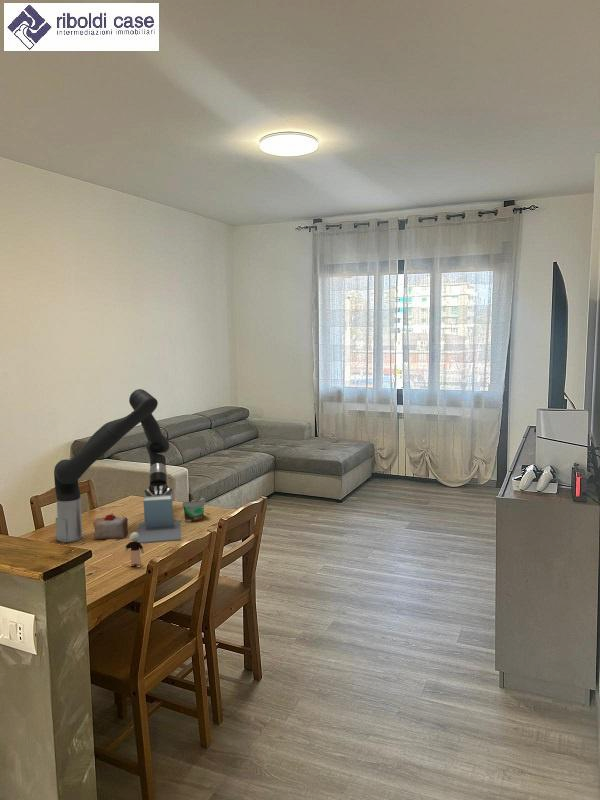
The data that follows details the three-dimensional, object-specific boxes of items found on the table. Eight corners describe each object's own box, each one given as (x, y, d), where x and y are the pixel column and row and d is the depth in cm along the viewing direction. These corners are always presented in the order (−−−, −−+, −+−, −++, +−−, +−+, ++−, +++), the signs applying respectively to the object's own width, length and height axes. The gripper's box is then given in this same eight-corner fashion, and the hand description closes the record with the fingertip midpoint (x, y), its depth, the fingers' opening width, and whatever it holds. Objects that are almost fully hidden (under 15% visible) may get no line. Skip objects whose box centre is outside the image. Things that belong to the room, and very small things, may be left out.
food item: (91, 541, 244) (90, 517, 243) (98, 534, 252) (97, 512, 251) (124, 540, 244) (123, 517, 243) (130, 534, 252) (129, 511, 251)
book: (145, 523, 261) (143, 496, 255) (172, 521, 264) (172, 494, 258) (145, 527, 258) (143, 501, 252) (173, 525, 261) (172, 499, 255)
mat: (181, 540, 243) (180, 538, 243) (135, 543, 240) (135, 542, 240) (180, 521, 269) (180, 520, 269) (139, 524, 265) (139, 523, 265)
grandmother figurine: (147, 563, 218) (146, 530, 217) (144, 567, 215) (142, 534, 213) (126, 563, 219) (125, 530, 217) (123, 567, 215) (121, 533, 214)
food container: (192, 525, 262) (192, 503, 261) (182, 523, 266) (182, 501, 265) (211, 518, 272) (211, 497, 271) (201, 516, 276) (201, 495, 275)
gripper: (173, 479, 275) (174, 512, 264) (143, 480, 272) (143, 514, 261) (172, 470, 269) (173, 503, 259) (142, 471, 266) (142, 505, 256)
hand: (158, 508), depth 260 cm, fingers closed
